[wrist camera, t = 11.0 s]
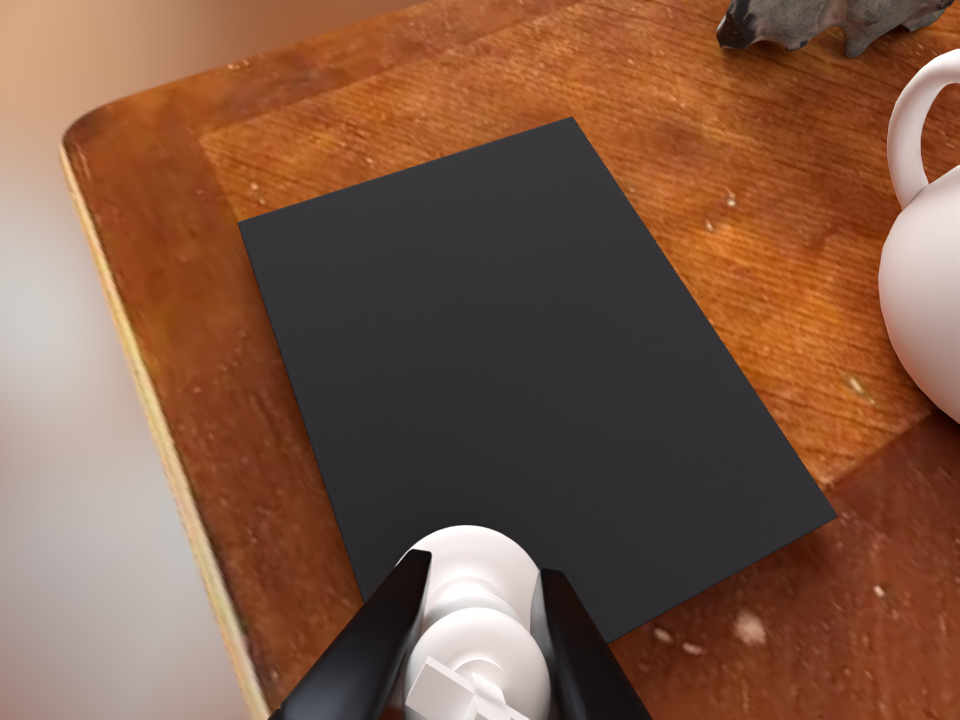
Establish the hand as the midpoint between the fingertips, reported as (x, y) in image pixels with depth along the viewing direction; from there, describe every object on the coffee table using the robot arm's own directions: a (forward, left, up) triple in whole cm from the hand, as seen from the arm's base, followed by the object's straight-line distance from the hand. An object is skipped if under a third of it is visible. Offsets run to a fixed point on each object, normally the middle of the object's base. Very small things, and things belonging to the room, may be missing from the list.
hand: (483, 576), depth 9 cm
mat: (+4, +6, -9) cm, 11 cm away
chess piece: (-1, -1, -6) cm, 6 cm away
